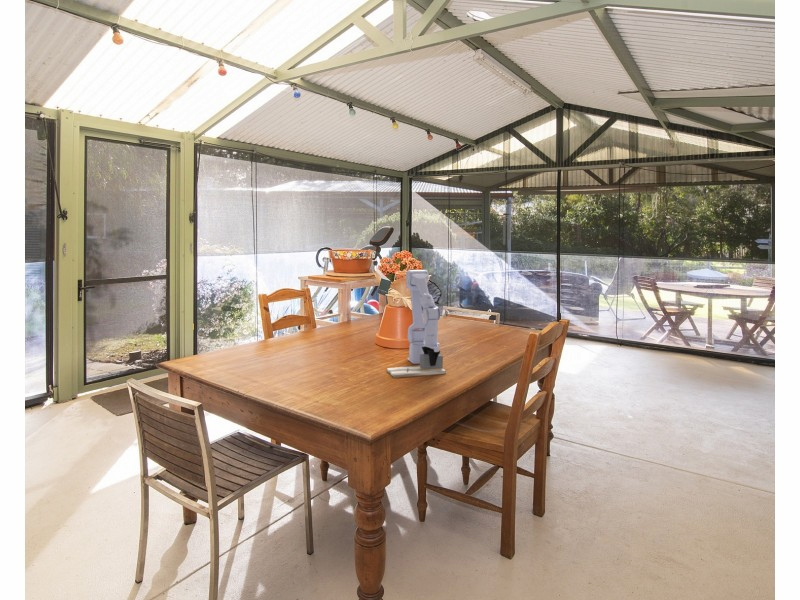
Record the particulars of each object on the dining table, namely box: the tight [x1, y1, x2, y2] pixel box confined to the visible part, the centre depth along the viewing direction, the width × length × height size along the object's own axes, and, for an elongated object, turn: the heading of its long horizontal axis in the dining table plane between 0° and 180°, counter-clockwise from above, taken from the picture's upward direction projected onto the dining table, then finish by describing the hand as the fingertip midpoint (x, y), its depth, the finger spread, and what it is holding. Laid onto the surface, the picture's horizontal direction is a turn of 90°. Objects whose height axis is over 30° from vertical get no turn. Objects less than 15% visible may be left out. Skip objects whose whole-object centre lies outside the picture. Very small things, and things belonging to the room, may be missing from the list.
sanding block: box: [419, 353, 444, 370], centre depth 220 cm, size 5×9×6 cm, turn 107°
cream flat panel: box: [386, 365, 447, 379], centre depth 219 cm, size 11×24×1 cm, turn 107°
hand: (430, 363), depth 220 cm, fingers closed on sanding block, 5 cm apart
